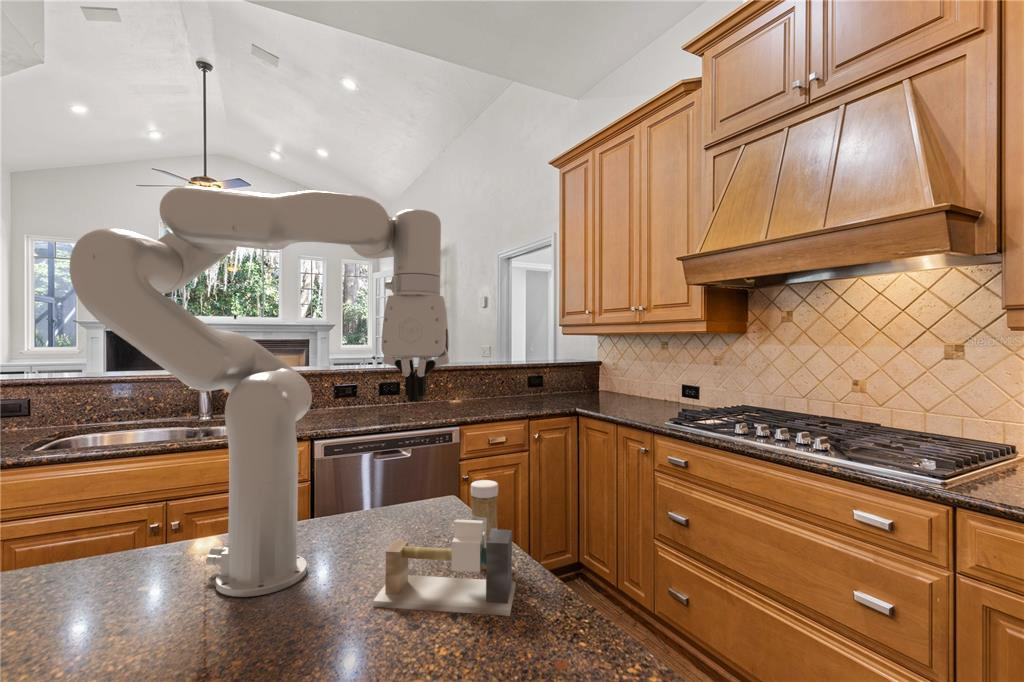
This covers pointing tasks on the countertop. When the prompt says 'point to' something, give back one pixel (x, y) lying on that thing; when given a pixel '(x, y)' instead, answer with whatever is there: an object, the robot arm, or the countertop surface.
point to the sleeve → (467, 545)
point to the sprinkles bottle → (485, 505)
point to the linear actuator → (450, 580)
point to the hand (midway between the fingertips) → (415, 400)
